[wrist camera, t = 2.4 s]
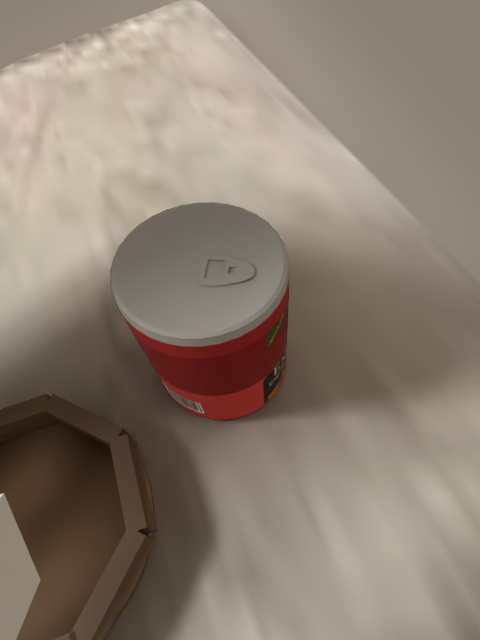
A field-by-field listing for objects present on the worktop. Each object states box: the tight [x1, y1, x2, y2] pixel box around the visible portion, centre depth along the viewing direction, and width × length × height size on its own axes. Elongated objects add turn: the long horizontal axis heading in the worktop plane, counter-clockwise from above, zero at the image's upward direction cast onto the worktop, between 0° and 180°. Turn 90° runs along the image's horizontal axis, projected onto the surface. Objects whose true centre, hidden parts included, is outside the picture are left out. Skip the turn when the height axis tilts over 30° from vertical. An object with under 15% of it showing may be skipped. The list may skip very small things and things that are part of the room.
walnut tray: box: [0, 394, 157, 640], centre depth 23 cm, size 13×13×3 cm
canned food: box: [110, 203, 289, 420], centre depth 24 cm, size 8×8×11 cm
